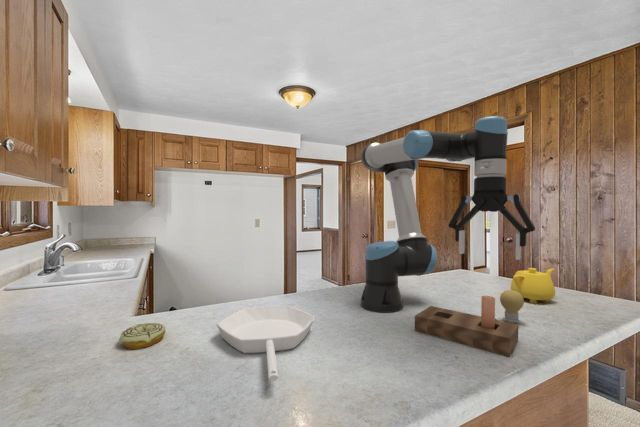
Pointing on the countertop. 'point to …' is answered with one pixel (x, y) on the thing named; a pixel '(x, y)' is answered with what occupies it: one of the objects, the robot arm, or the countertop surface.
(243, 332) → the pan
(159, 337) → the decorated donut
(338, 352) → the countertop surface
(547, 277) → the teapot
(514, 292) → the light bulb
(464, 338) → the hole block
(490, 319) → the peg
